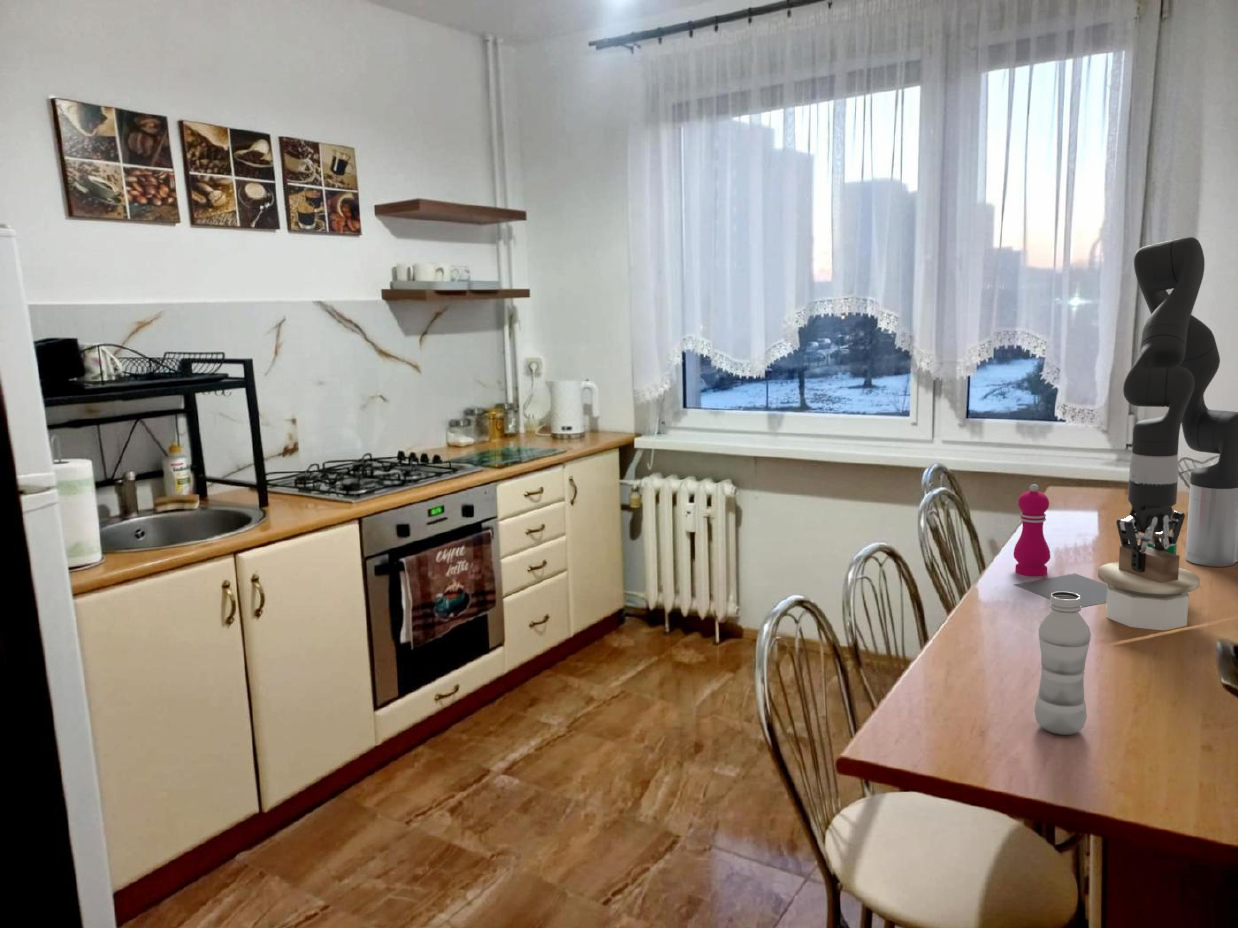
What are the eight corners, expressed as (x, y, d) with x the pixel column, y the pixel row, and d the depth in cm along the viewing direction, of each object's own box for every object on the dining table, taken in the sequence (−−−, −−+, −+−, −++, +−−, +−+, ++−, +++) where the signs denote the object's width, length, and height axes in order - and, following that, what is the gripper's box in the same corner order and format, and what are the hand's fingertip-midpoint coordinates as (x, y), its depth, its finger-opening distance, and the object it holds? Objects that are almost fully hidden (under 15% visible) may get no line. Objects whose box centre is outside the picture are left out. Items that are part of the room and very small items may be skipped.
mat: (1075, 575, 188) (1075, 573, 188) (1139, 598, 173) (1139, 595, 173) (1013, 586, 183) (1013, 584, 183) (1074, 610, 168) (1074, 608, 168)
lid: (1143, 561, 171) (1145, 534, 170) (1221, 585, 156) (1223, 556, 155) (1078, 573, 166) (1079, 545, 165) (1151, 599, 151) (1153, 569, 150)
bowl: (1142, 603, 170) (1143, 573, 169) (1202, 624, 158) (1204, 593, 157) (1090, 613, 166) (1091, 583, 165) (1148, 636, 155) (1149, 603, 154)
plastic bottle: (1024, 721, 127) (1028, 590, 124) (1069, 716, 128) (1074, 586, 124) (1049, 742, 121) (1055, 605, 117) (1096, 738, 122) (1103, 601, 118)
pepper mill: (1053, 579, 186) (1057, 487, 182) (1017, 579, 188) (1020, 488, 184) (1044, 568, 193) (1047, 480, 189) (1009, 568, 195) (1012, 480, 191)
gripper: (1165, 470, 163) (1159, 558, 166) (1104, 478, 159) (1100, 569, 162) (1202, 477, 156) (1196, 569, 159) (1140, 486, 152) (1135, 580, 155)
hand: (1147, 568), depth 161 cm, fingers closed on lid, 4 cm apart
